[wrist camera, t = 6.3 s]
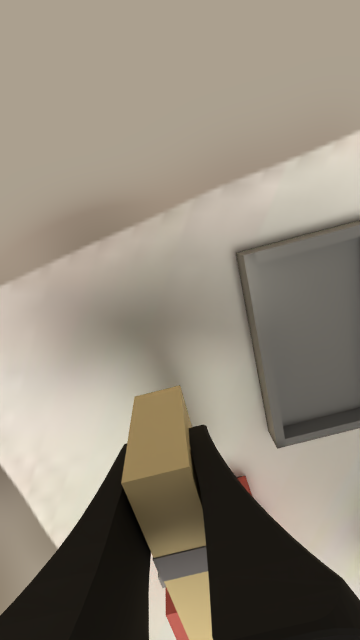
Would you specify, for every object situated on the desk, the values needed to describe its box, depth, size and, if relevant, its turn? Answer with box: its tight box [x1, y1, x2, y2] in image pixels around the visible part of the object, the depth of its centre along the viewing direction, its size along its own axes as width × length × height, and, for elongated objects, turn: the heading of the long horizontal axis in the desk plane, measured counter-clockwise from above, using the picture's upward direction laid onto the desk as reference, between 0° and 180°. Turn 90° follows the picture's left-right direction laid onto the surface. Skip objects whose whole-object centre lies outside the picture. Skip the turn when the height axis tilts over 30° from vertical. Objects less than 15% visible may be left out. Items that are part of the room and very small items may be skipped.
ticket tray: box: [236, 221, 360, 448], centre depth 17 cm, size 13×8×2 cm, turn 14°
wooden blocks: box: [121, 385, 213, 640], centre depth 12 cm, size 10×2×4 cm, turn 14°
